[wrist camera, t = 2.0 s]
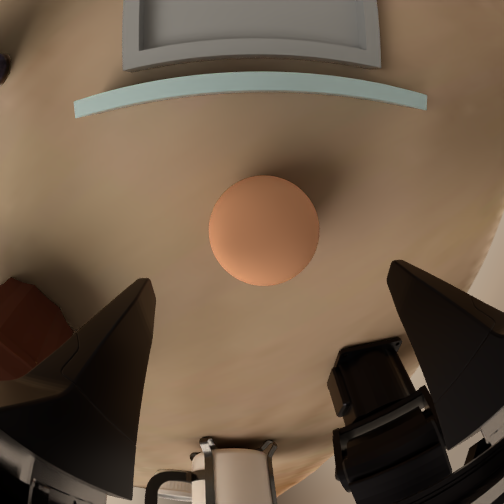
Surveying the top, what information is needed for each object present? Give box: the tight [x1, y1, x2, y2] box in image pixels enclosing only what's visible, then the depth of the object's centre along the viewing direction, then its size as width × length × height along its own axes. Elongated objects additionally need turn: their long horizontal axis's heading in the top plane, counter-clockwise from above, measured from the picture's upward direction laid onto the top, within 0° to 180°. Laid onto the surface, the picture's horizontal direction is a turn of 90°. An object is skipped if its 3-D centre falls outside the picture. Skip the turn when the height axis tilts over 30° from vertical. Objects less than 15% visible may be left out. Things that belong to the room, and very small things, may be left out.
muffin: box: [0, 277, 73, 381], centre depth 14 cm, size 12×11×10 cm
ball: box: [209, 175, 319, 286], centre depth 13 cm, size 5×5×5 cm
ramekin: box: [155, 470, 192, 502], centre depth 43 cm, size 13×13×7 cm
